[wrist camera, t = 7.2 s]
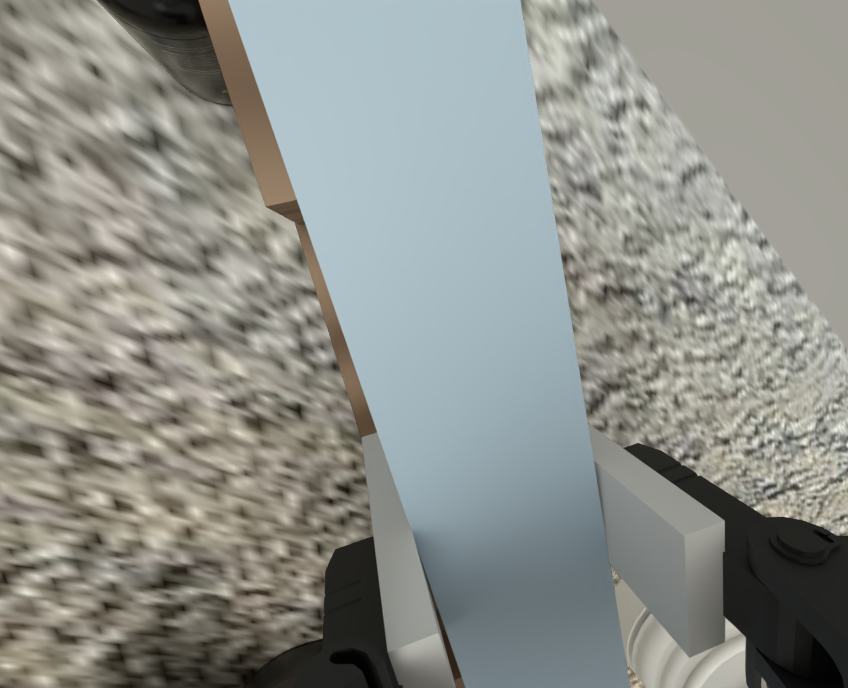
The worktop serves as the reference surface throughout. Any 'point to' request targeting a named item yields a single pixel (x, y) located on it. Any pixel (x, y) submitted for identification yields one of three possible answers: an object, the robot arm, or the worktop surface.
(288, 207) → the bracket
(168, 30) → the supplement bottle
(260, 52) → the rail
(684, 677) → the honey pot
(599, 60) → the worktop surface
